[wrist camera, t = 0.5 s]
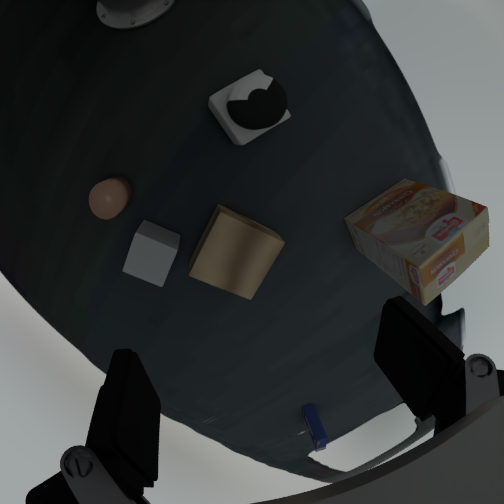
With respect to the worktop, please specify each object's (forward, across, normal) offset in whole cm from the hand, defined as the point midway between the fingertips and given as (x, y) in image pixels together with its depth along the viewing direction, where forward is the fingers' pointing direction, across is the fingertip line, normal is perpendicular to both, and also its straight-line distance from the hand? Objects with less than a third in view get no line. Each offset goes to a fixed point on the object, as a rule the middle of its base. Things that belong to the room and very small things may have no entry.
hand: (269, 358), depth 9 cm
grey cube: (+33, +10, +6) cm, 35 cm away
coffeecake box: (+33, -28, +6) cm, 44 cm away
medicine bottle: (+32, -5, -12) cm, 35 cm away
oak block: (+33, -1, +8) cm, 34 cm away
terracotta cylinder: (+32, +15, -3) cm, 36 cm away
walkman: (+34, -14, +58) cm, 69 cm away
